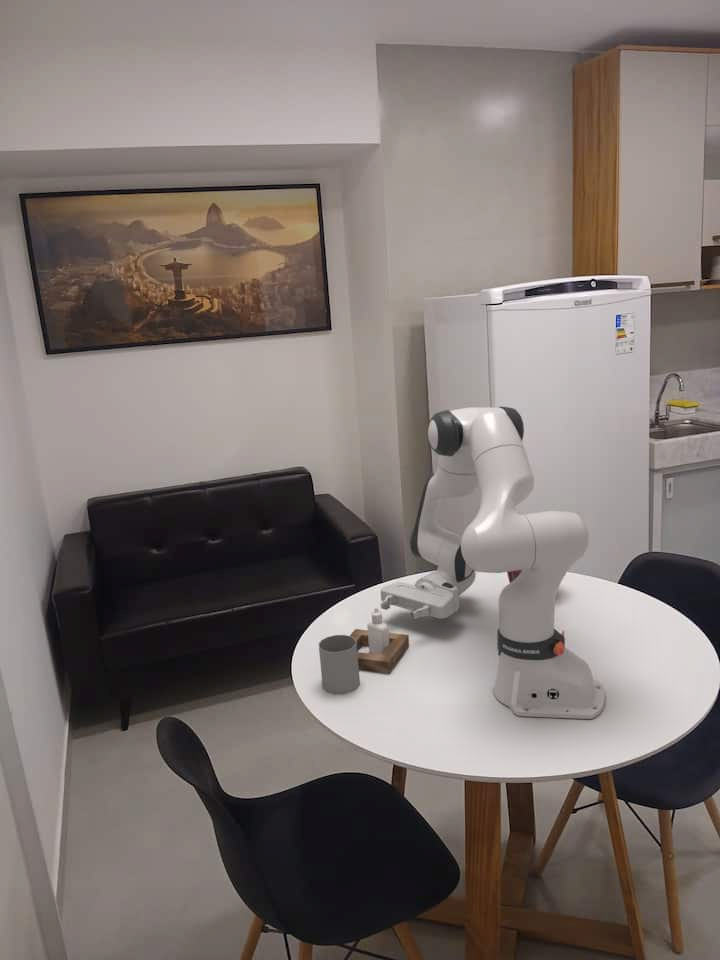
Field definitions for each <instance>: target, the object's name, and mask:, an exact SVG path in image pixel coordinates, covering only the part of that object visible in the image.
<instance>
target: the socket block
mask: <svg viewBox="0 0 720 960" xmlns="http://www.w3.org/2000/svg"><path fill="white" fill-rule="evenodd" d="M388 633H389V646H388V647H387V649H386V650H385V651H384V653H383V654H382V655H378V654H371V653H370V652H369V653H368V652H361V651H360V650H361V649H362V648H363V647H366V646H369V642H368V629H367V630H366V629H359V628H358V629H357V628H355V629H354V630H353V631H352V632H351V633H350V634H349V636H351V637H353V638H354V639H356V643H357V654H358V666H359V671H364V672H371V673H380V674H386V675H390V674H391V673H392V672H393V670H394V669H395V667H396V666H397V664H398V663H399V662H400V660H401V658H402V657H403V656H404V654H405V653H406V652H407V650H408V649H409V647H410V639H409V638H410V637H409V634H404V633H396V632H395V633H394V632H388ZM359 649H360V650H359ZM358 650H359V651H360V652H359V651H358ZM405 651H406V652H405Z"/></svg>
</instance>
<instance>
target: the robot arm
mask: <svg viewBox="0 0 720 960" xmlns="http://www.w3.org/2000/svg"><path fill="white" fill-rule="evenodd" d="M524 435H525V426H524V420H523V418H522V416H521V414H520V413H519V412H518V410H517V409H515V408H512V407H508V406H498V407H493V406H492V407H490V406H489V407H485V406H483V407H475V406H473V407H464V408H463V407H462V408H457V409H451V410H448V409H445V410H441V411H439V412H436V413H434V414H433V415H432V417H431V418H430V419H429V423H428V429H427V436H428V437H427V438H428V441H429V444H430V447H431V449H432V451H433V452H434V453H435V454H437V455H438V460H437V461H438V463H437V468H436V471H435V472H434V473H431V475H429V477H428V478H427V479H426V481H425V483H424V486H423V488H422V489H423V490H422V493H421V497H420V502H419V506H418V510H417V514H416V520H415V524H414V527H413V529H412V532H411V534H410V536H409V541H408V542H409V548H410V550H411V553H412V554H413V556H414V557H416V558H418V559H420V560H423V561H427V562H429V563H432V564H433V565H436V566H437V569H436V570H434V571H432V572H429V573H427V574H426V575H424V576H422V577H420V578H418V579H417V580H416V581H415V583H414V585H413V584H411V583H407V582H401V581H399V582H398V581H397V582H394V583H391V584H389V585H386V586H383V587H381V590H380V599H381V600H380V601H381V603H380V608H381V609H382V610H385V611H386V610H389V609H390V607H391V606H395V607H399V608H401V609H405V610H409V613H410V618H413V619H415V620H417V619H418V618H421V617H422V618H423V617H427V616H429V617H432V618H435V619H440V620H441V619H446V618H448V617H450V616H452V615H453V614H454V613H456V612H458V611H459V606H460V605H459V604H460V600H459V598H460V597H459V596H461V594H464V593H465V592H466V591H467V590H468V589H469V588H470V587H471V586H472V585H473V583H474V582H475V580H476V575H477V572H478V573H485V574H486V573H488V574H489V573H490V574H492V573H493V574H502V573H507V572H510V571H517V570H522V571H521V573H520V574H519V576H518V577H517V578H516V579H515V580H514V581H512V582H511V583H510V582H509V583H508V584H507V585H505V586H504V587H503V589H502V590H501V592H500V594H499V596H498V622H499V623H498V625H499V627H498V630H497V633H496V647H497V648H496V649H497V655H498V656H499V657H498V665H497V667H498V668H497V675H496V678H495V682H494V686H493V695H494V697H495V698H496V699H497V700H498V701H499V703H502V705H505V706H507V707H508V708H510V710H511V711H512V712H513V713H514V714H515V715H516V716H518V717H528V718H529V717H534V718H556V719H561V718H562V719H582V720H585V719H586V720H590V719H591V720H593V719H594V718H596V717H598V716H599V715H600V714H601V713H602V711H603V710H604V708H605V704H606V691H605V688H604V686H603V685H602V683H600V682H599V681H598V680H595V679H594V677H593V674H592V670H591V667H590V666H589V664H588V663H587V662H586V660H584V659H582V658H581V657H579V656H578V655H576V654H575V653H574V652H572V651H570V650H569V649H568V648H566V639H565V638H566V637H565V631H564V630H562V631H561V633H560V632H559V631H558V630H557V629H555V614H556V613H555V609H556V598H557V594H558V592H559V588H560V585H561V583H562V581H563V580H564V578H565V576H566V574H567V572H568V571H569V570H570V569H571V567H573V565H574V564H575V563H576V562H577V561H579V560H580V559H581V558H583V556H584V555H585V553H586V552H587V550H588V546H589V543H590V542H589V541H590V537H589V535H590V534H589V531H588V526H587V525H586V523H585V521H584V520H583V519H582V518H581V516H580V515H579V514H577V513H575V512H572V511H563V510H562V511H561V510H545V511H539V512H537V511H536V512H529V513H524V514H523V513H518V512H517V509H516V506H517V505H518V504H520V503H521V502H523V501H525V500H526V498H528V497H529V496H530V495H531V493H532V492H533V489H534V487H535V486H534V485H535V477H534V474H533V471H532V468H531V466H530V462H529V458H528V456H527V452H526V450H525V447H524V444H523V440H524ZM478 488H479V490H480V507H479V509H478V511H477V514H476V516H475V517H474V519H473V520H472V521H471V522H470V524H468V525H467V527H465V529H464V531H463V534H462V536H461V535H459V534H457V533H454V532H452V531H450V530H447V529H444V528H443V527H441V526H440V525H439V524H438V522H437V520H438V519H437V518H438V514H439V510H440V506H441V502H442V500H459V499H462V498H467V497H468V496H470V495H472V494H473V493H474V492H476V490H477V489H478Z"/></svg>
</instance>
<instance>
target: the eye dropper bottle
mask: <svg viewBox="0 0 720 960" xmlns="http://www.w3.org/2000/svg"><path fill="white" fill-rule="evenodd" d="M367 630H368V642H369V647H368V651H369V653H370V654H378V655H382V654H383V653H384V651H385V650H386V649H387V647H388V646H389V633H390V632H389V628H388V626H387V624H386V623H385V622H384V621H383V614H382V611H379V607H378V606H376V607H374V610H373V612H372V613H371V620H370V621H369V622H367Z"/></svg>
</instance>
